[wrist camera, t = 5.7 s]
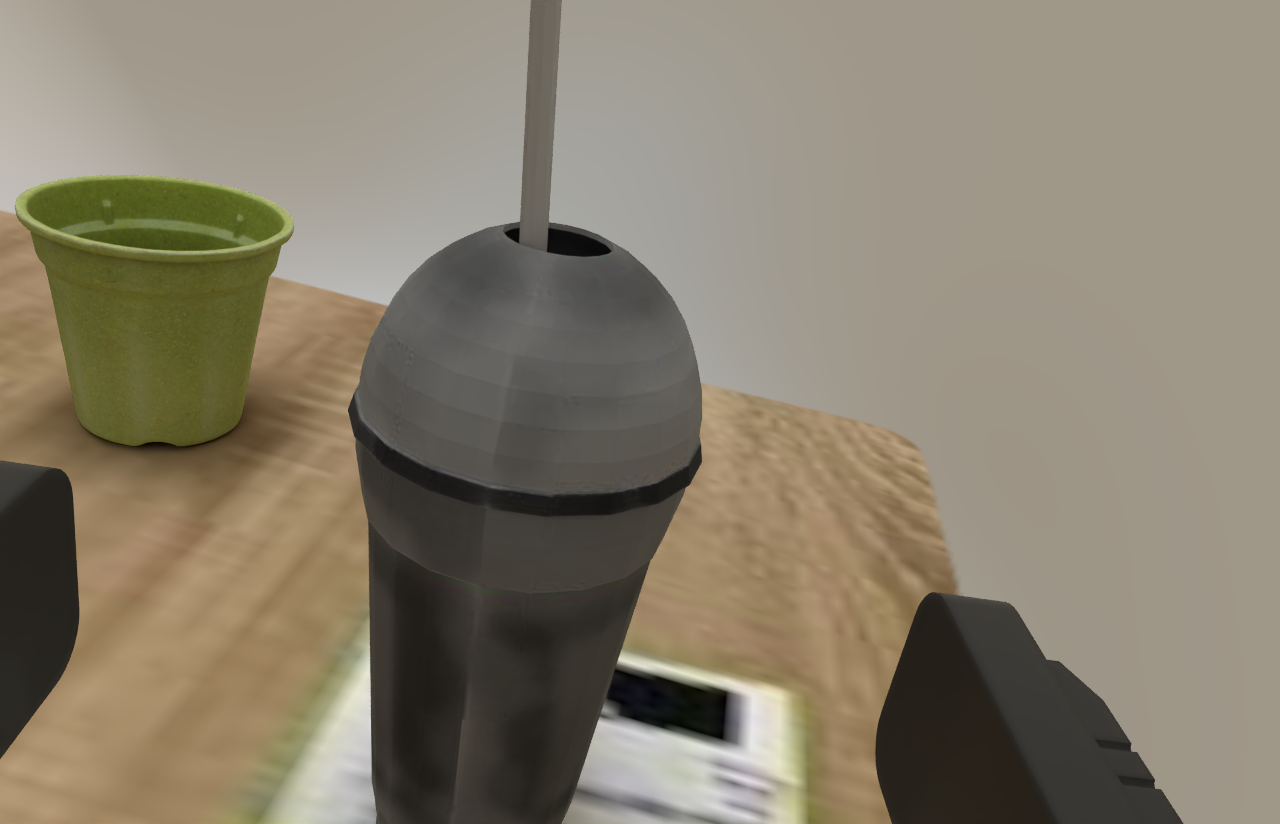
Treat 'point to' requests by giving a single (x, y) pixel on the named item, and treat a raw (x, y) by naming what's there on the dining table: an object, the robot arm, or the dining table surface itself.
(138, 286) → the plant pot
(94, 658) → the dining table surface
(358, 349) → the dining table surface
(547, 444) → the beverage cup
